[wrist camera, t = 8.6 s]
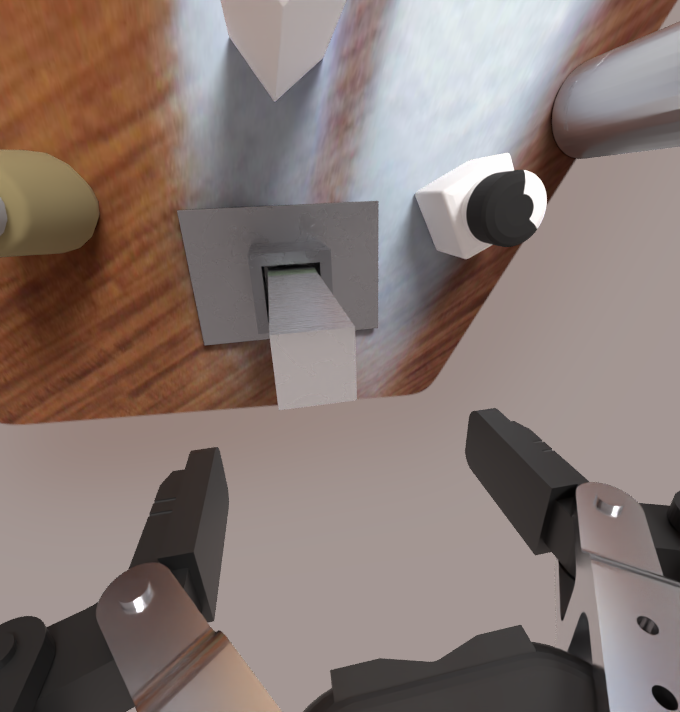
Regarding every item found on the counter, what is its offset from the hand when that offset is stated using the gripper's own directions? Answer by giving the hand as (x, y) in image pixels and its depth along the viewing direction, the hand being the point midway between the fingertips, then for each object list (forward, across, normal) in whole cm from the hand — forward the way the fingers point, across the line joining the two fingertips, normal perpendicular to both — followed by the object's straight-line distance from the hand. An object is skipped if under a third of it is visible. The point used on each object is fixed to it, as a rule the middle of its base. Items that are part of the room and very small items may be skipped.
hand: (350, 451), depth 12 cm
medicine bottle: (+32, -19, -6) cm, 38 cm away
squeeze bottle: (+32, +20, -8) cm, 39 cm away
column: (+25, 0, 0) cm, 25 cm away
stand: (+32, 0, 0) cm, 32 cm away
